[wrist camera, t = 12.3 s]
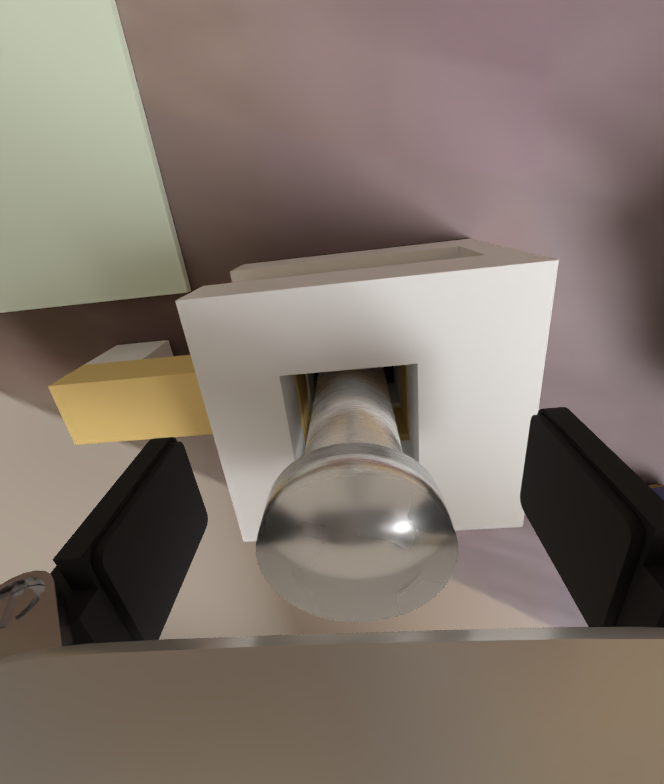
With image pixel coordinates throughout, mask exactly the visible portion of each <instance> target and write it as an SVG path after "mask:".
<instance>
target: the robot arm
mask: <svg viewBox="0 0 664 784" xmlns="http://www.w3.org/2000/svg"><path fill="white" fill-rule="evenodd" d="M520 502H521V506H522V509H523V511H524V512H525V514H526V516H527V518H528V519H529V521H530V523H531V525H532V527H533V528H534V530H535V532H536V534H537V535H538V537H539V539H540V541H541V543H542V544H543V546H544V548H545V550H546V551H547V553H548V555H549V557H550V559H551V560H552V562H553V564H554V566H555V567H556V569H557V571H558V573H559V575H560V576H561V578H562V580H563V582H564V583H565V585H566V587H567V589H568V591H569V592H570V594H571V596H572V598H573V599H574V601H575V603H576V605H577V607H578V608H579V610H580V612H581V614H582V615H583V617H584V619H585V621H586V623H587V624H588V626H589V627H548V628H509V629H472V630H433V631H399V632H369V633H368V632H366V633H336V634H335V633H334V634H305V635H304V634H303V635H273V636H247V637H219V638H193V639H168V640H167V639H166V640H158V639H159V637H160V635H161V632H162V630H163V628H164V625H165V623H166V621H167V618H168V616H169V614H170V611H171V609H172V607H173V604H174V602H175V599H176V597H177V595H178V593H179V590H180V588H181V586H182V583H183V581H184V578H185V576H186V574H187V572H188V569H189V567H190V564H191V562H192V560H193V557H194V555H195V553H196V550H197V548H198V546H199V543H200V541H201V539H202V536H203V534H204V532H205V529H206V526H207V522H208V517H207V512H206V509H205V506H204V503H203V500H202V497H201V494H200V491H199V489H198V486H197V483H196V480H195V477H194V474H193V471H192V468H191V465H190V462H189V459H188V456H187V454H186V451H185V448H184V445H183V444H182V442H177V440H176V439H175V438H174V437H166V438H154V439H151V440H150V441H149V442H148V443H147V444H146V445H145V447H144V448H143V449H142V450H141V452H140V453H139V454H138V455H137V457H136V458H135V459H134V460H133V461H132V463H131V464H130V465H129V466H128V468H127V469H126V470H125V472H124V473H123V474H122V475H121V476H120V478H119V479H118V480H117V481H116V482H115V484H114V485H113V486H112V487H111V489H110V490H109V491H108V492H107V494H106V495H105V496H104V497H103V498H102V500H101V501H100V502H99V503H98V505H97V506H96V507H95V508H94V509H93V511H92V512H91V513H90V514H89V516H88V517H87V518H86V519H85V521H84V522H83V523H82V524H81V526H80V527H79V528H78V529H77V531H76V532H75V533H74V534H73V535H72V537H71V538H70V539H69V540H68V541H67V543H66V544H65V545H64V546H63V548H62V549H61V550H60V551H59V553H58V554H57V555H56V556H55V557H54V559H53V561H54V562H55V564H56V565H57V566H56V567H55V568H54V570H53V571H52V572H51V573H50V574H49V573H48V572H46V571H32V572H27V573H23V574H21V575H19V576H16V577H14V578H11V579H10V580H8V581H6V582H4V583H3V584H1V585H0V784H664V500H663V499H662V498H661V497H660V496H659V495H658V494H656V493H655V492H654V491H653V490H652V489H651V488H650V487H649V486H648V485H647V484H646V483H645V482H644V481H643V480H642V479H641V478H640V477H639V476H638V475H637V474H636V473H635V472H634V471H632V470H631V469H630V468H629V467H628V466H627V465H626V464H625V463H624V462H623V461H622V460H621V459H620V458H619V457H618V456H617V455H616V454H615V453H614V452H613V451H612V450H611V449H609V448H608V447H607V446H606V445H605V444H604V443H603V442H602V441H601V440H600V439H599V438H598V437H597V436H596V435H595V434H594V433H593V432H592V431H591V430H590V429H589V428H588V427H587V426H585V425H584V424H583V423H582V422H581V421H580V420H579V419H578V418H577V417H576V416H575V415H574V414H573V413H572V412H571V411H570V410H569V409H567V408H566V407H559V408H546V409H540V410H539V412H538V414H537V415H533V416H532V417H531V420H530V427H529V434H528V441H527V448H526V455H525V463H524V470H523V477H522V484H521V491H520Z"/></svg>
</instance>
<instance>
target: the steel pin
mask: <svg viewBox="0 0 664 784" xmlns="http://www.w3.org/2000/svg"><path fill="white" fill-rule="evenodd" d="M256 556H257V561H258V565H259V567H260V570H261V572H262V574H263V576H264V578H265V579H266V581H267V582H268V583H269V585H270V586H271V587H272V588H273V589H274V590H275V591H276V592H277V593H278V594H279V595H280V596H281V597H282V598H283V599H285V600H286V601H287V602H289V603H291V604H292V605H294V606H295V607H297V608H300V609H301V610H303V611H305V612H308V613H311V614H313V615H316V616H319V617H323V618H327V619H332V620H338V621H346V622H371V621H379V620H385V619H389V618H393V617H397V616H400V615H403V614H406V613H408V612H411V611H413V610H415V609H417V608H419V607H420V606H422V605H424V604H425V603H427V602H428V601H430V600H431V599H432V598H434V597H435V596H436V595H437V594H438V593H439V592H440V591H441V590H442V589H443V588H444V587H445V585H446V584H447V582H448V581H449V580H450V578H451V576H452V574H453V572H454V569H455V566H456V563H457V558H458V542H457V538H456V533H455V530H454V527H453V524H452V521H451V518H450V515H449V512H448V509H447V506H446V503H445V500H444V497H443V494H442V492H441V490H440V487H439V485H438V484H437V482H436V481H435V479H434V477H433V476H432V475H431V474H430V473H429V472H428V471H427V469H426V468H424V467H423V466H422V465H421V464H420V463H419V462H417V461H416V460H414V459H413V458H411V457H409V456H408V455H406V454H404V453H403V451H402V447H401V443H400V438H399V434H398V430H397V425H396V421H395V417H394V412H393V408H392V403H391V399H390V395H389V390H388V386H387V382H386V377H385V373H384V369H383V367H375V368H363V369H352V370H341V371H330V372H319V373H318V379H317V385H316V390H315V396H314V402H313V408H312V413H311V419H310V425H309V430H308V436H307V442H306V448H305V453H304V455H303V456H301V457H299V458H298V459H296V460H295V461H294V462H292V463H291V464H290V465H289V466H287V467H286V468H285V469H284V470H283V471H282V472H281V474H280V475H279V476H278V477H277V479H276V480H275V482H274V484H273V486H272V487H271V490H270V493H269V495H268V499H267V502H266V506H265V510H264V513H263V517H262V521H261V524H260V528H259V531H258V536H257V541H256Z"/></svg>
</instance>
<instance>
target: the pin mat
mask: <svg viewBox="0 0 664 784" xmlns="http://www.w3.org/2000/svg"><path fill="white" fill-rule="evenodd" d="M190 291H191V287H190V284H189V280H188V276H187V272H186V268H185V265H184V261H183V257H182V253H181V249H180V246H179V242H178V238H177V234H176V230H175V227H174V223H173V219H172V215H171V211H170V208H169V204H168V200H167V196H166V192H165V189H164V185H163V181H162V177H161V173H160V170H159V166H158V162H157V158H156V154H155V151H154V147H153V143H152V139H151V135H150V132H149V128H148V124H147V120H146V116H145V113H144V109H143V105H142V101H141V97H140V94H139V90H138V86H137V82H136V78H135V75H134V71H133V67H132V63H131V59H130V56H129V52H128V48H127V44H126V40H125V37H124V33H123V29H122V25H121V21H120V18H119V14H118V10H117V6H116V2H115V0H0V313H3V312H12V311H21V310H31V309H40V308H49V307H58V306H67V305H77V304H86V303H95V302H104V301H114V300H123V299H132V298H141V297H150V296H160V295H169V294H178V293H187V292H190Z"/></svg>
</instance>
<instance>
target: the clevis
mask: <svg viewBox="0 0 664 784" xmlns="http://www.w3.org/2000/svg"><path fill="white" fill-rule="evenodd" d="M558 261H559V260H557V259H553V258H549V257H545V256H541V255H536V254H532V253H528V252H524V251H520V250H516V249H512V248H508V247H503V246H499V245H495V244H491V243H487V242H483V241H479V240H475V239H462V240H453V241H445V242H436V243H427V244H418V245H409V246H400V247H392V248H383V249H374V250H365V251H356V252H347V253H339V254H330V255H321V256H312V257H303V258H294V259H286V260H277V261H268V262H259V263H250V264H243V265H241V266H239V267H237V268H236V269H234V270H232V271H230V275H231V280H232V283H225V284H216V285H207V286H202V287H200V288H198V289H196V290H194V291H193V292H191V293H189V294H187V295H185V296H183V297H181V298H180V299H178V300H176V301H175V302H176V306H177V309H178V313H179V317H180V320H181V324H182V327H183V331H184V334H185V338H186V341H187V345H188V348H189V352H190V355H182V356H173V353H172V350H171V347H170V343H169V340H164V341H154V342H144V343H133V344H123V345H116V346H115V347H113V348H111V349H110V350H108V351H106V352H105V353H103V354H101V355H100V356H98V357H96V358H95V359H93V360H91V361H89V362H88V363H86V364H84V365H83V366H81V367H79V368H78V369H76V370H74V371H73V372H71V373H69V374H68V375H66V376H64V377H62V378H61V379H59V380H57V381H56V382H54V383H52V384H51V385H49V386H48V388H49V390H50V392H51V394H52V396H53V398H54V401H55V403H56V405H57V407H58V409H59V411H60V413H61V415H62V418H63V420H64V422H65V424H66V426H67V428H68V430H69V432H70V435H71V437H72V439H73V441H74V443H75V445H78V444H92V443H105V442H118V441H131V440H144V439H154V438H166V437H183V436H196V435H208V434H213V436H214V440H215V443H216V447H217V450H218V454H219V457H220V461H221V464H222V468H223V471H224V475H225V478H226V482H227V485H228V489H229V492H230V496H231V499H232V503H233V506H234V510H235V513H236V517H237V520H238V524H239V527H240V531H241V534H242V538H243V541H244V542H249V541H257V536H258V531H259V528H260V524H261V521H262V517H263V513H264V510H265V506H266V502H267V499H268V495H269V493H270V490H271V487H272V486H273V484H274V482H275V480H276V479H277V477H278V476H279V475H280V474H281V472H282V471H283V470H284V469H285V468H286V467H287V466H289V465H290V464H291V463H292V462H294V461H295V460H296V459H298V458H299V457H301V456H303V455H304V453H305V448H306V442H307V436H308V430H309V425H310V419H311V413H312V408H313V402H314V396H315V390H316V387H315V379H314V373H318V372H330V371H341V370H352V369H363V368H375V367H386V366H393V368H394V383H387V386H388V390H389V395H390V399H391V403H392V408H393V412H394V417H395V421H396V425H397V430H398V434H399V438H400V443H401V447H402V451H403V453H404V454H406V455H408V456H409V457H411V458H413V459H414V460H416V461H417V462H419V463H420V464H421V465H422V466H423V467H424V468H426V469H427V471H428V472H429V473H430V474H431V475H432V476H433V477H434V479H435V481H436V482H437V484H438V485H439V487H440V490H441V492H442V494H443V497H444V500H445V503H446V506H447V509H448V512H449V515H450V518H451V521H452V524H453V527H454V530H472V529H491V528H510V527H522V526H523V519H524V511H523V509H522V506H521V502H520V491H521V484H522V477H523V470H524V463H525V455H526V448H527V441H528V434H529V427H530V420H531V417H532V416H533V415H537V414H538V409H539V401H540V394H541V386H542V379H543V372H544V364H545V357H546V350H547V342H548V335H549V328H550V320H551V313H552V305H553V298H554V291H555V283H556V276H557V269H558Z"/></svg>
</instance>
